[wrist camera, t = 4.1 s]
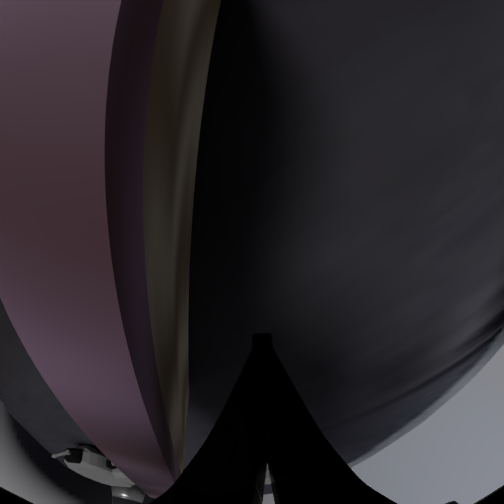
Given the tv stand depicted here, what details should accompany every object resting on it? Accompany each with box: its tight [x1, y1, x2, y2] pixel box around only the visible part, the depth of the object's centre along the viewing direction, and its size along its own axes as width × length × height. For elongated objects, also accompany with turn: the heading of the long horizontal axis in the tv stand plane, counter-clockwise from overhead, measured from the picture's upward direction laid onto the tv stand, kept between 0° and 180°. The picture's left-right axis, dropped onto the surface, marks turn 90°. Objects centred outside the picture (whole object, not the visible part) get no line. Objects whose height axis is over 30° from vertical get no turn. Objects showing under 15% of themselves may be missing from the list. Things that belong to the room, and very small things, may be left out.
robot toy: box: [52, 445, 135, 487], centre depth 26 cm, size 12×4×15 cm
